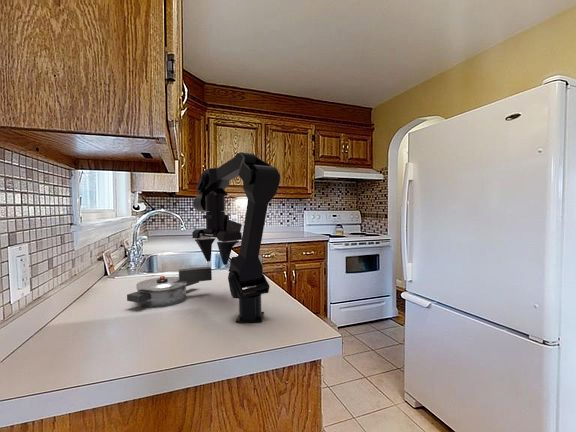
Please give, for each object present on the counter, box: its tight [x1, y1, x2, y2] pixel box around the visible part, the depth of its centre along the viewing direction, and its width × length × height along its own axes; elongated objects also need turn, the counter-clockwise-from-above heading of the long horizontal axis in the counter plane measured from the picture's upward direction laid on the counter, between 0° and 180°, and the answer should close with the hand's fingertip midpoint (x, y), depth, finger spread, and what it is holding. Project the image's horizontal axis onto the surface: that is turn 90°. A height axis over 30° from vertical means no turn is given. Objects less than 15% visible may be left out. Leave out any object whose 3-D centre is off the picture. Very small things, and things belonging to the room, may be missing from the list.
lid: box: [135, 266, 213, 291], centre depth 97 cm, size 22×15×4 cm, turn 115°
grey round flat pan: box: [126, 281, 200, 309], centre depth 97 cm, size 25×14×4 cm, turn 155°
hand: (216, 262), depth 92 cm, fingers open, 9 cm apart
